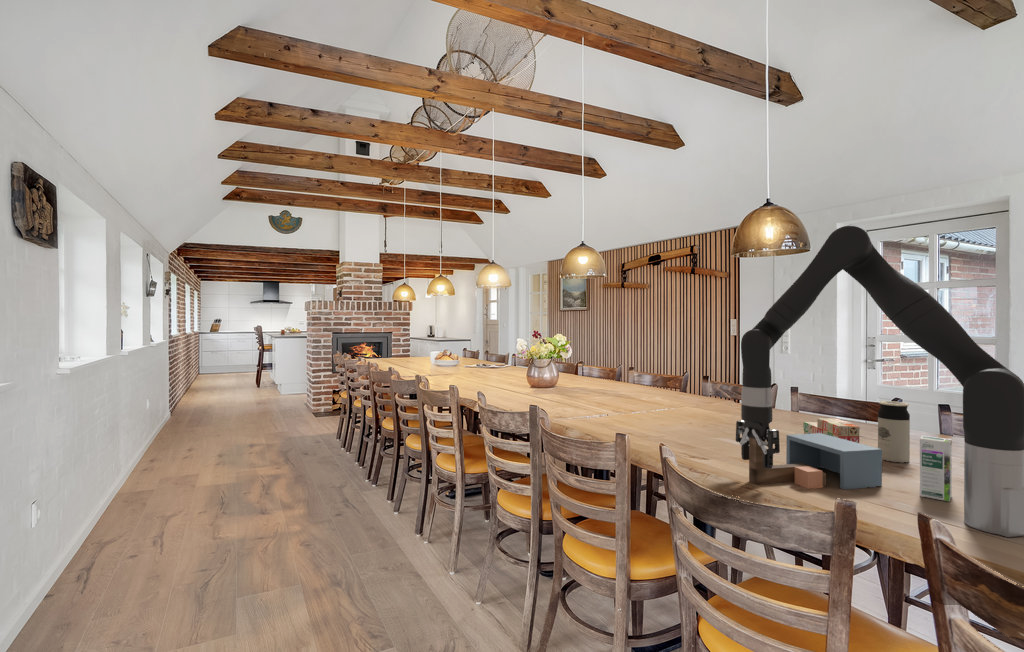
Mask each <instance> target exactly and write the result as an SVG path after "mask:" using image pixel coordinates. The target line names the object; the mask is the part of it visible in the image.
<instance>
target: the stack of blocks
mask: <svg viewBox="0 0 1024 652" xmlns="http://www.w3.org/2000/svg"><path fill="white" fill-rule="evenodd" d="M860 429H861V428H860V426H859V425H857V424H854V423H852V422H849V421H845V420H842V419H839V418H835V417H833V418H831V417H829V418H828V417H827V418H825V417H824V418H823V417H822V418H821V417H817V421H803V434H814V433H822V434H825V435H829V436H833V437H837V438H841V439H845V440H848V441H852V442H856V443H860Z"/></svg>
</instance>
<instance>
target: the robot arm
mask: <svg viewBox="0 0 1024 652" xmlns="http://www.w3.org/2000/svg"><path fill="white" fill-rule="evenodd" d="M842 270H843V271H844V272H845V273H847V274H848V275H849V276H850V277H851V278H853V279H854V280H855V281H856V282H857V283H858V284H860V285H861V286H862V288H864V290H865V291H866V292H867V293H868V295H869V296H870V297H871V299H872V300H873V301H874V302H875V304H876V305H877V306H878V307H879V308H880V310H881V312H883V314H884V315H885V316H886V317H887V318H888V319H889V320H890V322H891V323H893V324H894V325H895V327H897V328H898V329H899V331H901V332H902V333H903V334H904V335H905V336H906V337H908V339H910V340H911V341H912V342H913V343H915V344H916V345H917V346H918V347H920V348H921V349H923V350H924V351H926V352H927V353H928V354H930V355H931V356H932V357H934V358H935V359H937V360H938V361H939V362H940V363H941V364H942V365H944V367H946V369H947V370H948V371H950V373H951V374H952V375H953V376H954V377H955V378H956V380H957V381H958V382H959V384H960V385H961V387H962V388H963V389H962V426H963V427H962V428H963V433H964V434H963V435H964V441H963V442H964V457H963V458H964V459H963V461H964V463H963V469H964V471H963V473H964V474H963V476H964V478H963V479H964V480H963V482H964V483H963V485H964V486H963V488H964V489H963V491H964V492H963V504H964V505H963V522H964V523H965V524H966V525H967V526H969V527H971V528H974V529H975V530H978V531H981V532H982V531H983V532H985V533H990V534H994V535H998V536H1004V537H1005V538H1013V537H1022V536H1023V537H1024V381H1023V380H1022V379H1021V378H1020V376H1018V375H1017V374H1015V373H1014V372H1013V371H1012V370H1010V369H1008V367H1006V366H1004V365H1003V364H1002V363H1000V362H999V361H998V360H997V359H996V358H994V357H993V356H991V355H990V354H989V353H988V352H986V351H985V350H984V349H983V348H982V347H980V345H979V344H978V343H976V342H975V341H974V339H973V338H972V337H971V336H970V335H969V334H968V332H967V331H966V330H965V329H964V327H963V326H962V325H961V324H960V323H959V322H958V321H957V319H956V318H955V317H954V316H952V314H951V313H950V312H949V311H947V309H946V308H945V307H944V306H943V305H942V304H941V303H940V302H938V300H937V299H936V298H935V297H934V296H932V295H931V294H930V293H929V292H928V291H927V290H925V289H924V288H923V287H922V286H920V285H919V284H918V283H916V282H915V281H913V280H912V279H911V278H909V277H907V276H905V275H904V274H902V273H900V272H899V271H898V270H896V269H895V268H894V267H893V266H892V265H891V264H889V262H888V261H887V260H886V259H885V258H884V256H883V255H881V254H880V252H879V251H878V250H877V249H876V248H875V245H874V244H873V242H872V241H871V238H870V236H869V234H868V233H867V231H866V230H865V229H863V228H862V227H860V226H857V225H851V224H850V225H844V226H841V227H839V228H837V229H835V230H834V231H832V232H831V233H830V235H829V236H828V237H827V239H825V241H824V243H823V245H822V246H821V247H820V249H819V251H818V252H817V253H816V255H815V256H814V257H813V259H812V261H811V262H810V263H809V264H808V266H807V267H806V269H804V270H803V272H802V273H801V274H800V276H799V277H797V279H795V281H794V282H793V283H792V284H791V285H790V286H789V287H788V289H786V291H784V293H783V294H782V295H781V296H780V297H779V298H778V299H777V300H776V301H775V302H774V303H773V304H772V306H770V308H769V309H768V310H767V311H766V312H765V314H764V316H763V318H762V319H761V320H760V321H759V322H758V323H757V324H756V325H754V326H753V328H752V329H750V330H747V331H746V332H745V333H744V334H743V335H742V337H741V341H740V352H741V353H740V354H741V361H742V384H741V385H742V386H741V388H742V389H741V394H740V395H741V396H740V398H741V399H740V400H741V401H740V406H741V407H740V408H741V409H740V413H741V414H740V415H741V417H740V418H741V420H737V421H736V423H735V442H737V443H739V445H740V446H741V452H740V453H741V459H742V460H743V461H749V437H751V438H754V439H756V441H757V443H758V445H759V446H760V447H761V448H762V450H763V452H764V454H763V467H764V468H766V469H769V468H772V466H773V465H774V454H779V453H780V452H781V451H780V450H781V449H780V431H779V429H771V427H770V423H772V422H773V390H772V369H771V367H770V363H771V362H770V356H771V349H772V348H773V347H774V346H775V345H776V343H778V341H779V340H780V338H782V336H783V335H784V334H785V333H786V332H787V331H788V330H789V329H791V328H792V327H793V326H794V325H795V324H796V323H797V322H798V321H799V320H800V319H801V318H802V317H803V316H804V315H805V313H807V311H808V310H809V309H810V308H811V307H812V305H813V304H814V303H815V301H816V300H817V298H818V296H820V294H821V293H822V291H823V290H824V289H825V287H826V286H827V285H828V284H829V283H830V282H831V281H832V279H834V277H836V275H838V274H839V273H841V271H842ZM765 440H766V442H764V441H765Z"/></svg>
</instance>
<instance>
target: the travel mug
mask: <svg viewBox="0 0 1024 652" xmlns="http://www.w3.org/2000/svg"><path fill="white" fill-rule="evenodd" d="M878 404H879V406H880V408H879V409H878V411H877V448H879V449H882V461H885V460H886V462H889V461H891V462H890V463H896V462H900V463H899V464H903V463H904V462H906V463H909V462H910V459H911V457H910V452H911V451H910V450H911V449H910V444H911V443H910V437H911V435H910V432H911V431H910V430H911V429H910V427H911V422H910V421H911V420H910V416H911V415H910V413H909V411H908V407H909V406H910V405H909V403H907V402H901V401H891V400H881V401H880V400H879V402H878Z"/></svg>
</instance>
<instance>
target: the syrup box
mask: <svg viewBox="0 0 1024 652" xmlns="http://www.w3.org/2000/svg"><path fill="white" fill-rule="evenodd" d="M952 443H953V442H952V438H943V437H935V436H928V435H922V436H921V437H920V438H919V496H920V497H922V498H928V499H933V500H939V501H943V502H948V503H949V502H950V500H951V498H952V495H953V494H952V493H953V492H952V488H953V487H952V485H953V484H952V481H953V480H952V478H953V477H952V476H953V475H952V473H953V471H952V469H953V468H952V466H953V463H952V461H953V459H952V455H953V453H952V452H953V451H952V450H953V449H952V447H953V446H952Z"/></svg>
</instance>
